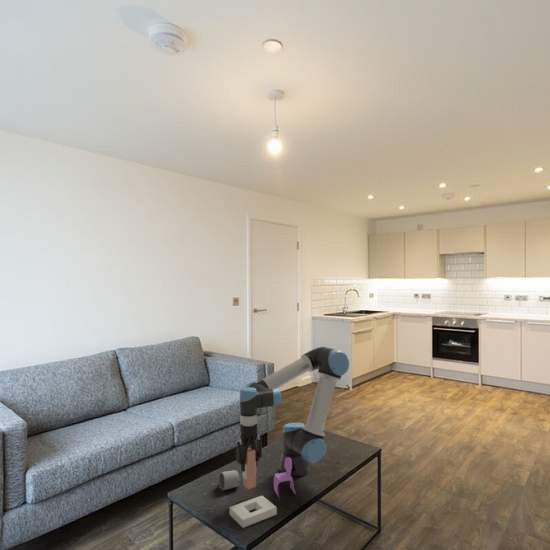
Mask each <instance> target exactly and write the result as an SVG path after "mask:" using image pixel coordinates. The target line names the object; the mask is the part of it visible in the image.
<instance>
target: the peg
mask: <svg viewBox="0 0 550 550" xmlns="http://www.w3.org/2000/svg"><path fill="white" fill-rule="evenodd" d="M246 464H247V479H245V478H243V477H242V478H243V482H242V483H243V487H245V488H246V489H247V490H250V489H253V488H256V486H257V467H256V460H255V450H253V449H252V448H251V446H249V447H248V450H247V456H246Z"/></svg>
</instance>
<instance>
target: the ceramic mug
mask: <svg viewBox="0 0 550 550" xmlns="http://www.w3.org/2000/svg"><path fill="white" fill-rule="evenodd" d="M218 483H219V488H220V489H221V490H222V491H227V490H230V489H234V488H237V487H239V486H240V483H241V477H240V473H239V471H238V470H233V469H231V470H228V471H222V472H220V473H219V474H218Z"/></svg>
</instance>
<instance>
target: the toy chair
mask: <svg viewBox="0 0 550 550" xmlns="http://www.w3.org/2000/svg"><path fill="white" fill-rule="evenodd" d="M284 467H285V469H286V472H284V473H281V472H280V473H279V472H277V473H274V476H273V490H274V492H275V494H276V496H277V498H280V496H279V492H278V486H279V484H280V483H283V482H288V481H289V486H290V487H289V488H290V489H291V491H292V492H293V493H294V494H295V495H297V493H296V490H295V487H294V480H293V476H290V475H291V469H292V460H291V458H289V457H286V458H285V463H284Z"/></svg>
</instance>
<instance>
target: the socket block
mask: <svg viewBox="0 0 550 550" xmlns="http://www.w3.org/2000/svg"><path fill="white" fill-rule="evenodd" d="M277 508H278V507H277V506H276V505H274V504H273V502H271V501H270V500H269V499H267V498H266V497H264V495H259V496H257V497H254V498H251V499H248V500H245V501H242V502H240V503H237V504H234V505H231V506H229V512H228V513H229V516H230V517H231V518H232V519H233V520H234V521H235V522H237V524H238V525H239V526H240V527H241V528H242V529H243V528H247V527H249V526H251V525H253V524H256V523H259V522H261V521H263V520H267V519H269V518H271V517H274V516H276V515H277V514H278V513H277V512H278V511H277V510H278V509H277ZM253 510H255V511H253ZM250 511H252V512H250Z"/></svg>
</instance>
